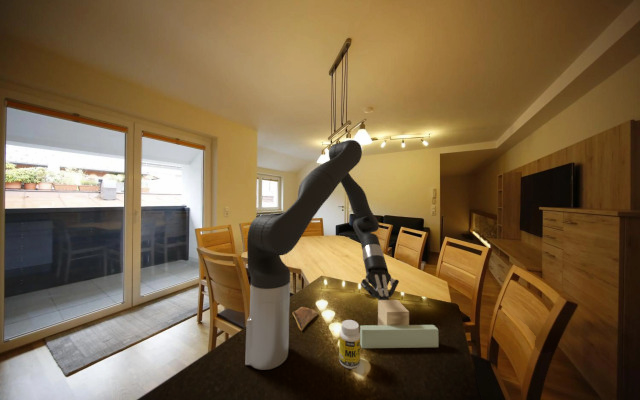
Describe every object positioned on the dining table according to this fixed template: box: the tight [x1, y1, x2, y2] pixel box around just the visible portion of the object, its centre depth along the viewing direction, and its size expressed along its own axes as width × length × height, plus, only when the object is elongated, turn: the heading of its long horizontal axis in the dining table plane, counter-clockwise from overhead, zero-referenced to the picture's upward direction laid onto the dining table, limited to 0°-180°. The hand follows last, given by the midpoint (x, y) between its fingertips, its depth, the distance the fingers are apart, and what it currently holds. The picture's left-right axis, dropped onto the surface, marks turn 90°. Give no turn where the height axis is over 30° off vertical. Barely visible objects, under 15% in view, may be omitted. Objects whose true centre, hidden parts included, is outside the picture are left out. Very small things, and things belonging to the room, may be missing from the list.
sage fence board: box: [359, 324, 439, 349], centre depth 53 cm, size 20×2×4 cm, turn 93°
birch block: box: [377, 299, 410, 325], centre depth 58 cm, size 6×7×8 cm
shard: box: [292, 306, 319, 332], centre depth 64 cm, size 11×8×2 cm
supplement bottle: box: [338, 319, 361, 370], centre depth 47 cm, size 5×5×8 cm
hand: (386, 310), depth 62 cm, fingers closed
